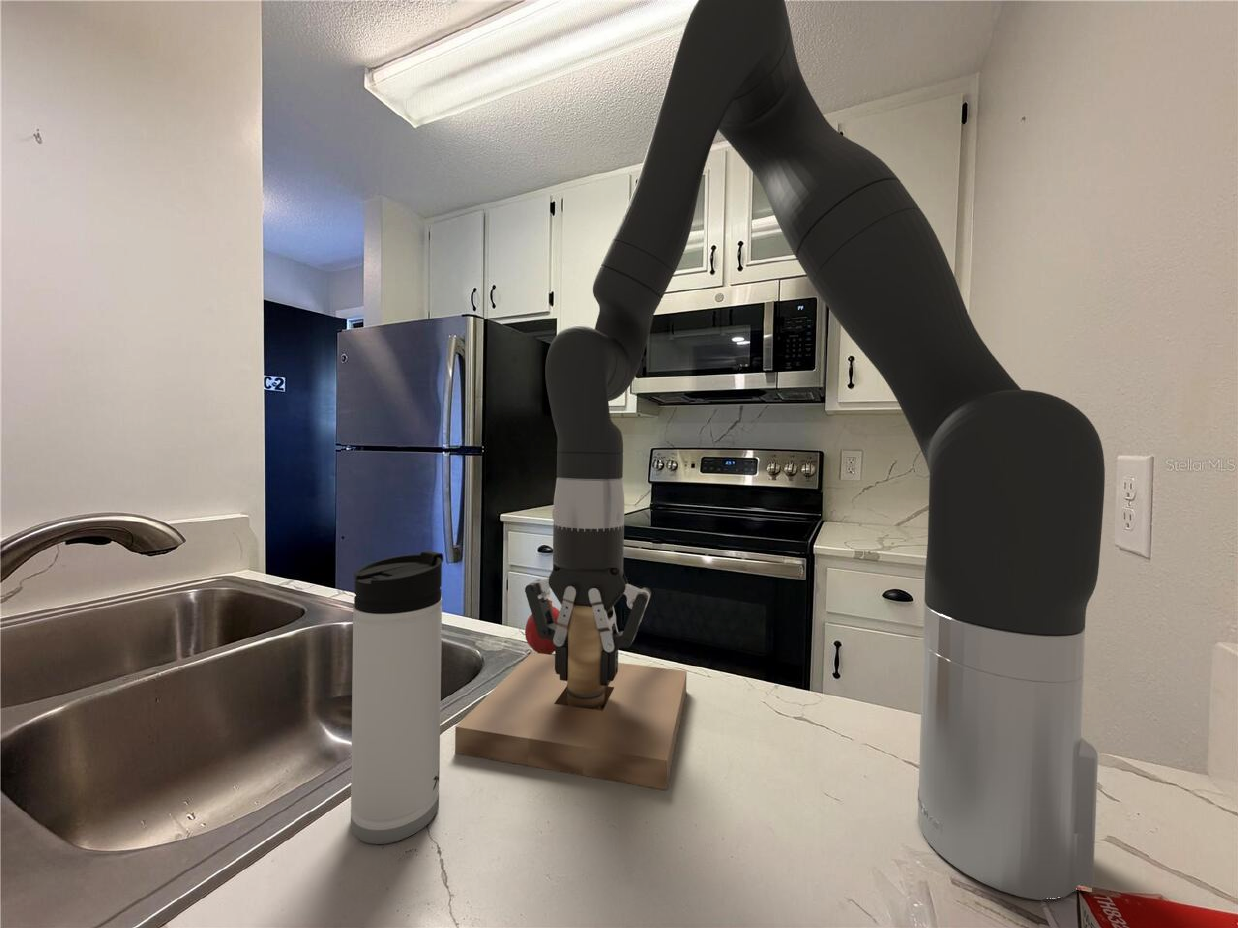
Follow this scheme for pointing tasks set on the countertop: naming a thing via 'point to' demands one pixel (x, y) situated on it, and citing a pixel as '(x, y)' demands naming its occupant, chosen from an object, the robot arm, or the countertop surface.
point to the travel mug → (396, 696)
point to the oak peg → (584, 660)
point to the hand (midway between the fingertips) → (585, 679)
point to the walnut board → (580, 723)
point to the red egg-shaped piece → (534, 640)
